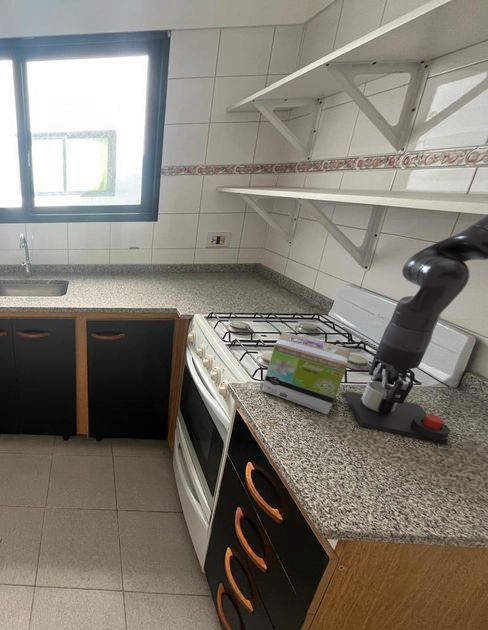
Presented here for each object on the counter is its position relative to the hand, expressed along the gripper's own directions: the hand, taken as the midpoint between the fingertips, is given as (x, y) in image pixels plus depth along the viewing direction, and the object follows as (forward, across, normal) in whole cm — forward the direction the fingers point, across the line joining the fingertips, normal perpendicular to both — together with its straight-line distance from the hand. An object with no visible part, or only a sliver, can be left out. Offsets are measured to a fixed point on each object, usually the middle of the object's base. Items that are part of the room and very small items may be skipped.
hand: (377, 403), depth 84 cm
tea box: (+2, 0, +16) cm, 17 cm away
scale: (+2, -2, -2) cm, 4 cm away
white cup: (+1, 0, 0) cm, 1 cm away
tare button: (0, -6, -7) cm, 10 cm away
